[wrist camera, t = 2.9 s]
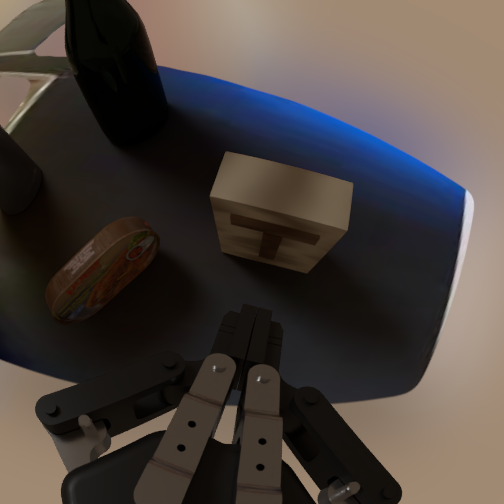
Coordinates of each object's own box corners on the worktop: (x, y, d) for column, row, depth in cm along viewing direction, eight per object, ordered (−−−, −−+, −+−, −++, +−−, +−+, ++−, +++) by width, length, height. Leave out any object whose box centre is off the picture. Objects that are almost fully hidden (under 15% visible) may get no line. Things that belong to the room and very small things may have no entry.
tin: (80, 328, 31) (40, 323, 23) (67, 308, 31) (27, 298, 23) (169, 249, 34) (148, 222, 26) (154, 230, 35) (131, 200, 27)
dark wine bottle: (95, 146, 38) (-5, -35, 6) (121, 97, 41) (61, -72, 9) (156, 150, 38) (80, -81, 6) (178, 97, 41) (143, -100, 9)
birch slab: (221, 254, 34) (208, 199, 21) (231, 220, 35) (225, 151, 22) (306, 276, 34) (347, 234, 20) (313, 241, 35) (353, 183, 21)
